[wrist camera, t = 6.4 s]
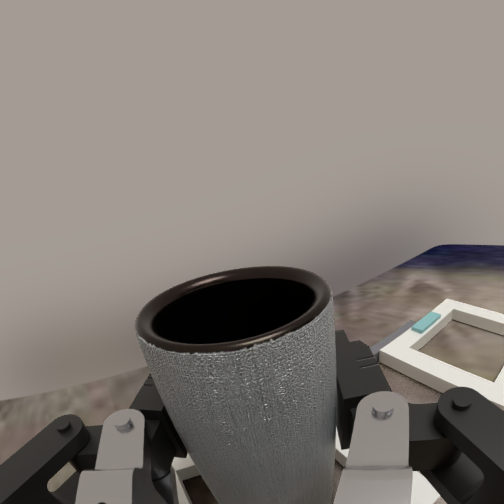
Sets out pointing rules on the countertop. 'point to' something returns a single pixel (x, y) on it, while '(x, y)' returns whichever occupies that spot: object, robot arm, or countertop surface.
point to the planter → (249, 380)
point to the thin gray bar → (390, 339)
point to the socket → (435, 371)
